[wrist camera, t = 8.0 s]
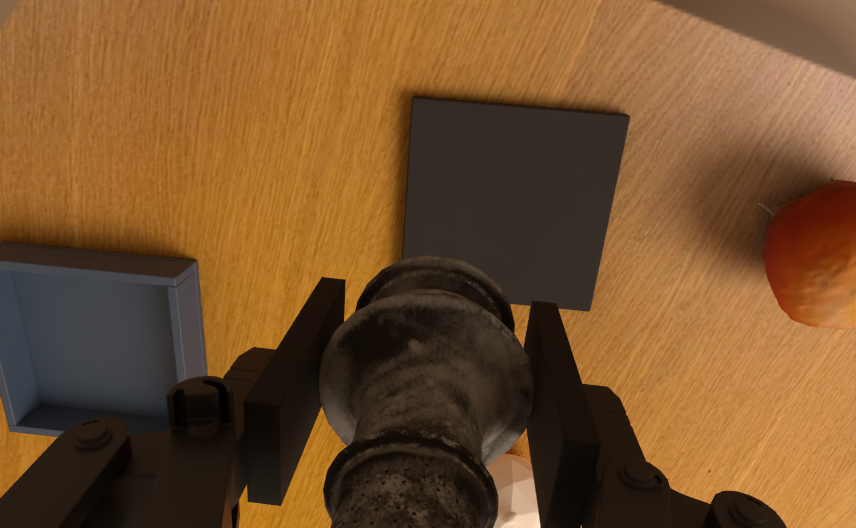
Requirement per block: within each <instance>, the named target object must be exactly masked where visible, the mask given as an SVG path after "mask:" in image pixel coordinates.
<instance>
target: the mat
mask: <svg viewBox="0 0 856 528" xmlns="http://www.w3.org/2000/svg"><path fill="white" fill-rule="evenodd" d="M629 120H630V116H629V115H626V114H618V113H606V112H594V111H583V110H571V109H559V108H547V107H535V106H524V105H512V104H500V103H488V102H476V101H465V100H453V99H441V98H429V97H417V96H414V97H413V98H412V105H411V122H410V138H409V154H408V171H407V187H406V203H405V219H404V236H403V252H402V260H403V259H407V258H411V257H415V256H420V255H444V256H448V257H452V258H456V259H459V260H463V261H466V262H468V263H470V264H471V265H473V266H475V267H477V268H479V269H480V270H482V271H484V272H485V273H486V274H487V275H488V276H489V277H490V278H491V279H492V280H494V281H495V282H496V283H497V284H498V285H499V286H500V288H501V290H502V291H503V293H504V295H505V296H506V298H507V300H508V302H509V303H510V304H518V305H528V306H531V303H532V301H541V302H550V303H556V304H557V307H558V308H559V309H569V310H579V311H590V309H591V304H592V299H593V294H594V289H595V285H596V280H597V275H598V270H599V265H600V260H601V256H602V251H603V246H604V241H605V236H606V231H607V226H608V222H609V217H610V212H611V207H612V202H613V197H614V193H615V188H616V183H617V178H618V173H619V168H620V164H621V159H622V154H623V149H624V144H625V139H626V135H627V130H628V125H629Z"/></svg>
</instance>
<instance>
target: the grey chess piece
mask: <svg viewBox="0 0 856 528" xmlns="http://www.w3.org/2000/svg"><path fill="white" fill-rule="evenodd" d="M514 329H515V323H514V319H513V315H512V311H511V307H510V303H509V302H508V300H507V298H506V296H505V295H504V293H503V291H502V290H501V288H500V286H499V285H498V284H497V283H496V282H495V281H494V280H492V279H491V278H490V277H489V276H488V275H487V274H486V273H485V272H484V271H482V270H480V269H479V268H477V267H475V266H473V265H471V264H470V263H468V262H466V261H463V260H459V259H456V258H452V257H448V256H444V255H420V256H415V257H411V258H407V259H403V260H400V261H398V262H396V263H394V264H392V265H390V266H388V267H387V268H385V269H383V270H381V271H380V272H379V273H378V274H377V275H376V276H375V277H374V278H373V279H372V280H371V281H370V282H369V283H368V284H367V286H366V288H365V289H364V291H363V293H362V294H361V296H360V298H359V300H358V302H357V306H356V310H355V312H354V313H353V314H352V315H351V316H350V317H349V318H348V319H347V320H346V321H345V322H344V323H343V324H342V325H341V326H340V327H338V328H337V329H336V330H335V332H334V334H333V336H332V337H331V339H330V341H329V343H328V344H327V346H326V348H325V350H324V351H323V353H322V358H321V362H320V367H319V399H320V403H321V406H322V408H323V410H324V413H325V415H326V418H327V420H328V423H329V424H330V426H331V427H332V428H333V430H334V431H335V432H336V433H337V435H338V436H339V437H340V439H341V440H342V441H343V443H344V444H346V445H347V447H346V448H345V449H343V450H342V451H341V452H340V453H339V454H338V455H337V456H336V458H335V459H334V461H333V462H332V464H331V466H330V467H329V469H328V471H327V475H326V479H325V483H324V488H323V492H324V501H325V507H326V510H327V512H328V514H329V516H330V518H331V521H332V524H331V528H493V527H494V524H495V522H496V520H497V517H498V493H497V489H496V486H495V483H494V480H493V477H492V476H491V474H490V473H489V471H488V470H487V468H486V467H485V466H487V465H489V464H491V463H492V462H494V461H495V460H496V459H498V458H499V457H500V456H502V455H503V454H505V453H506V452H507V451H509V450H510V449H511V447H512V446H513V445H514V444H515V442H516V441H517V440H518V439H519V437H520V436H521V435H522V434H523V432H524V431H525V429H526V426H527V424H528V421H529V419H530V416H531V414H532V411H533V409H534V395H535V381H534V377H533V373H532V369H531V364H530V360H529V357H528V356H527V354H526V352H525V351H524V349H523V347H522V345H521V344H520V342H519V340H518V339H517V337H516V335H515V334H514Z"/></svg>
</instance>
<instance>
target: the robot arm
mask: <svg viewBox="0 0 856 528" xmlns="http://www.w3.org/2000/svg"><path fill="white" fill-rule="evenodd" d="M344 308H345V280H343V279H334V278H325V277H322V278H321V279H320V281H319V282H318V284H317V286H316V287H315V289H314V290H313V292H312V294H311V295H310V297H309V298H308V300H307V302H306V303H305V305H304V306H303V308H302V310H301V311H300V313H299V314H298V316H297V317H296V319H295V321H294V322H293V324H292V325H291V327H290V329H289V330H288V332H287V333H286V335H285V337H284V338H283V340H282V341H281V343H280V345H279V346H278V348H277V349H276V350H274V349H266V348H257V347H253V348H251V349H250V350H248V351H246V352H245V353H243V354H242V355H240V356H239V357H238V358H237V359H236V361H235V362H234V363H233V365H232V366H231V367H230V370H228V372H227V373H226V374H225V376H224V378H223V379H222V378H219V377H215V376H201V377H194V378H190V379H187V380H185V381H182V382H180V383H178V384H177V385H175V386H174V387H172V388H171V389H170V391H169V392H168V394H167V395H166V399H167V409H168V418H169V427H170V428H169V430H166V431H161V432H155V433H146V434H136V435H130V434H129V429H128V425H127V424H126V423H125V422H124V421H122V420H121V419H117V418H112V417H99V418H93V419H89V420H85V421H82V422H80V423H78V424H76V425H74V426H71V427H70V428H68V429H67V430H66V431H65V432H63V433H62V434H61V435H60V436H59V437H58V438H57V439H56V440H55V441H54V442H53V443H52V444H51V445H50V446H49V447H48V448H47V449H46V450H45V452H44V453H43V454H42V455H41V456H40V457H39V458H38V459H37V460H36V461H35V462H34V463H33V464H32V465H31V466H30V467H29V469H28V470H27V471H26V472H25V473H24V474H23V475H22V476H21V477H20V478H19V479H18V480H17V481H16V482H15V483H14V484H13V485H12V487H11V488H10V489H9V490H8V491H7V492H6V493H5V494H4V495H3V496H2V497H1V498H0V528H239V518H240V508H239V499H240V497H241V495H242V493H243V491H244V489H245V487H246V485H247V493H248V502H254V503H262V504H270V505H278V506H281V504H282V502H283V500H284V497H285V495H286V492H287V490H288V487H289V485H290V482H291V480H292V477H293V475H294V473H295V470H296V468H297V465H298V463H299V460H300V458H301V455H302V453H303V451H304V448H305V446H306V443H307V441H308V438H309V436H310V433H311V431H312V428H313V426H314V424H315V421H316V419H317V416H318V414H319V411H320V409H321V403H320V399H319V367H320V362H321V358H322V353H323V351H324V350H325V348H326V346H327V344H328V343H329V341H330V339H331V337H332V336H333V334H334V332H335V330H336V329H337V328H338V327H340V326H341V325H342V324H343V323H344ZM523 349H524V351H525V352H526V354H527V356H528V357H529V360H530V364H531V369H532V373H533V377H534V381H535V395H534V409H533V411H532V414H531V416H530V419H529V421H528V424H527V426H526V428H527V435H528V442H529V449H530V456H531V463H532V470H533V477H534V484H535V492H536V499H537V506H538V513H539V520H540V527H541V528H580V527H581V525H582V528H787V527H786V525H785V524H784V522H783V521H782V519H781V518H780V517H779V516H778V514H777V513H776V512H775V511H774V510H773V509H771V508H770V507H769V506H768V505H766V504H765V503H764V502H762V501H760V500H758V499H756V498H754V497H752V496H750V495H748V494H744V493H741V492H737V491H722V492H720V493H717V494H715V496H714V498H713V500H712V502H711V504H709V503H706V502H703V501H700V500H697V499H694V498H692V497H689V496H686V495H683V494H681V493H679V492H676V491H675V490H673V489H671V488H670V486H669V483H668V479H667V478H666V477H665V476H664V475H663V473H662V472H661V471H660V470H659V469H657V468H656V467H655V466H653V465H652V464H650V463H648V462H646V460H645V457H644V455H643V453H642V450H641V448H640V445H639V443H638V441H637V438H636V436H635V433H634V431H633V428H632V426H630V421H629V419H628V416H627V415H626V412H625V409H624V407H623V404H622V402H621V400H620V398H619V397H618V396H617V395H616V394H615V393H614V392H613V391H612V390H611V389H610V388H608V387H605V386H597V385H588V384H582V382H581V378H580V375H579V372H578V369H577V366H576V363H575V360H574V357H573V354H572V351H571V347H570V344H569V341H568V338H567V335H566V332H565V329H564V326H563V323H562V320H561V316H560V313H559V310H558V307H557V304H556V303H550V302H541V301H532V303H531V309H530V314H529V320H528V326H527V331H526V337H525V343H524V348H523Z"/></svg>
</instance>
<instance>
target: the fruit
mask: <svg viewBox="0 0 856 528" xmlns="http://www.w3.org/2000/svg"><path fill="white" fill-rule="evenodd" d="M758 205H760V206H761V207H762V208H763V209H765V210H766V211H767V212H769V213H770V214H771V216H772V220H771V222H770V224H769V225H768V227H767V229H766V242H765V252H764V262H765V268H766V274H767V278H768V281H769V283H770V286H771V288H772V291H773V293H774V295H775V297H776V299H777V301H778V303H779V306H780V307H781V309H782V310H783V311H784V312H786V313H787V314H788V316H789V317H790V318H791V319H792V320H793V321H796V322H799V323H802V324H805V325H807V326H811V327H816V328H834V329H846V328H850V327H855V326H856V182H852V181H843V180H841V181H839V180H833V179H832V178H831V183H830V184H827V185H824V186H822V187H820V188H818V189H816V190H815V191H813V192H811V193H809V194H807V195H805V196H803V197H800V198H798V199H796V200H793V201H790V202H788V203H785V204H781V205H777V206H772V207H769V206H767V205H766V204H764V203H762V202H760V204H759V203H758Z"/></svg>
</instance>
